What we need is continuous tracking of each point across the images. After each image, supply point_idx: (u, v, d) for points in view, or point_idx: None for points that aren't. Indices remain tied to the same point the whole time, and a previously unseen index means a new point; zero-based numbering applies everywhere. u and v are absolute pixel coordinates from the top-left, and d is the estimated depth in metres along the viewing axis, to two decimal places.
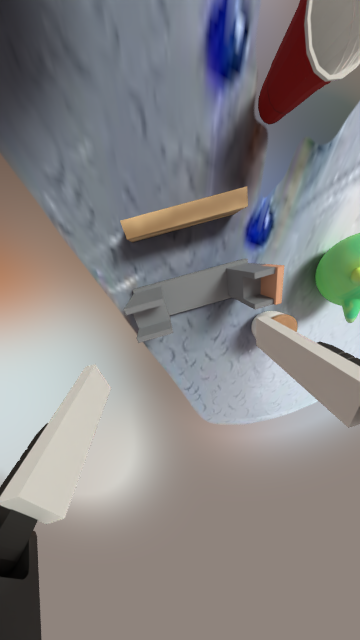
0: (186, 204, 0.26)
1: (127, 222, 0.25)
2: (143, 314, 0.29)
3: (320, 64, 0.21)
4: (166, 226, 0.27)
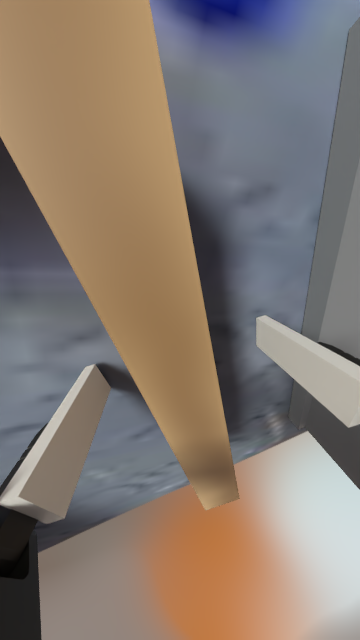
0: (166, 429, 0.06)
1: (209, 504, 0.11)
2: None
3: None
4: (227, 456, 0.09)
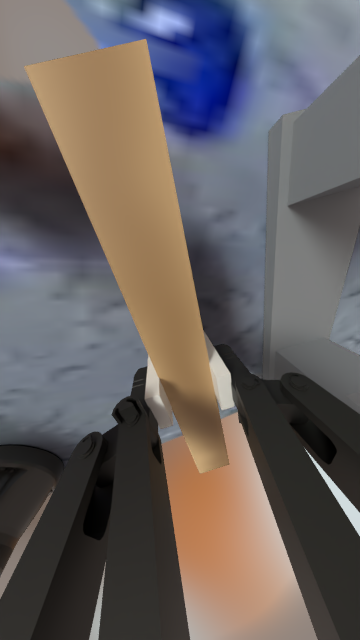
0: (167, 388, 0.08)
1: (203, 467, 0.13)
2: None
3: None
4: (216, 419, 0.10)
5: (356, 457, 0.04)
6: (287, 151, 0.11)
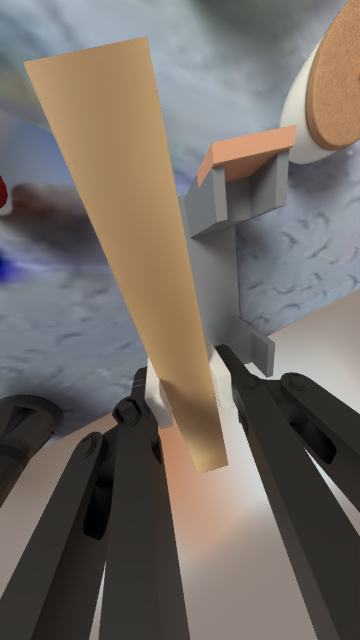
0: (166, 388, 0.08)
1: (201, 467, 0.13)
2: None
3: None
4: (216, 420, 0.10)
5: (356, 457, 0.04)
6: (184, 212, 0.23)
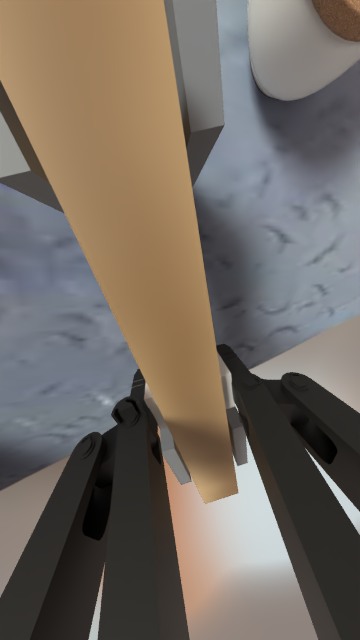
0: (169, 419, 0.07)
1: (208, 497, 0.12)
2: None
3: None
4: (227, 449, 0.09)
5: (357, 457, 0.04)
6: None
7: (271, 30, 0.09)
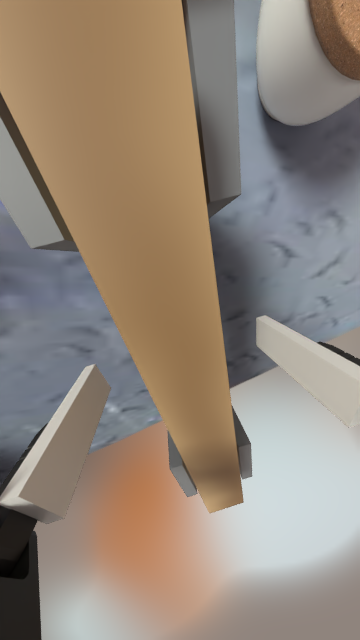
0: (176, 434, 0.07)
1: (213, 507, 0.11)
2: None
3: None
4: (234, 462, 0.09)
5: None
6: None
7: (280, 66, 0.09)
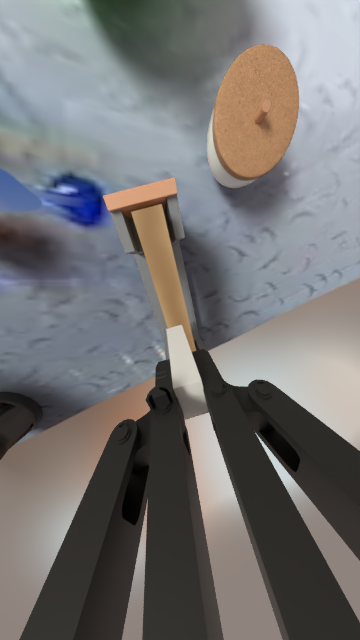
0: (167, 319, 0.18)
1: None
2: None
3: None
4: (192, 342, 0.20)
5: (316, 465, 0.04)
6: None
7: (215, 170, 0.21)
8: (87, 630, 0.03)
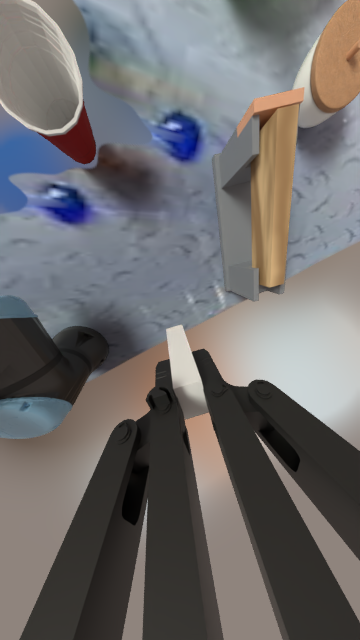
0: (274, 214, 0.23)
1: (272, 281, 0.28)
2: None
3: (51, 83, 0.21)
4: (286, 241, 0.25)
5: (316, 466, 0.04)
6: (218, 167, 0.30)
7: (300, 107, 0.26)
8: (87, 630, 0.03)
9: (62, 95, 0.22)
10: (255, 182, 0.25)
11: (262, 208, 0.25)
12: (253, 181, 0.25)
